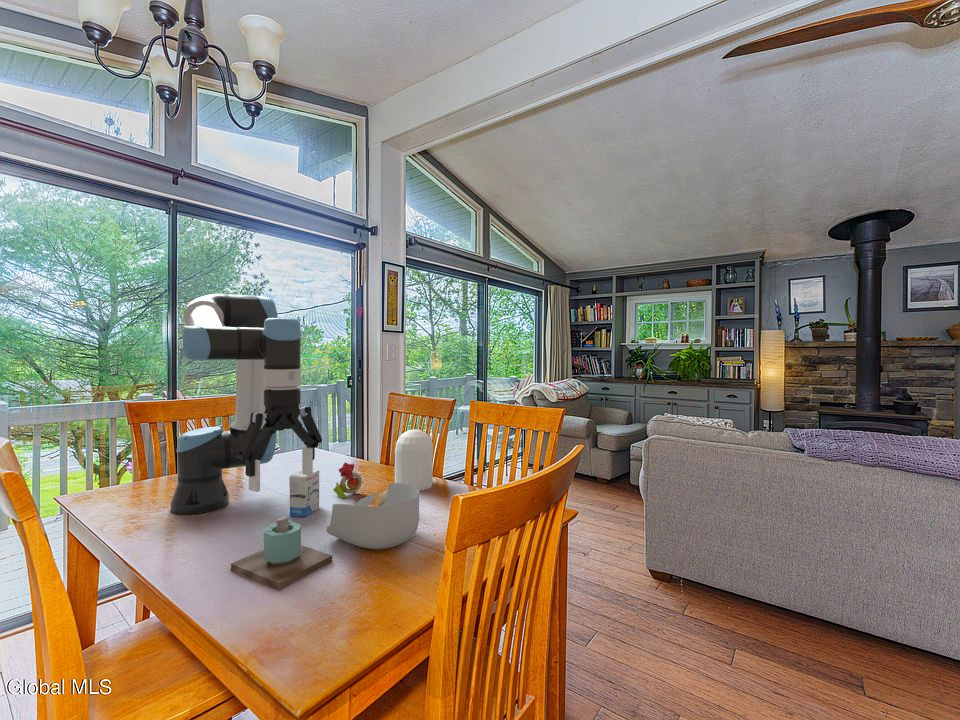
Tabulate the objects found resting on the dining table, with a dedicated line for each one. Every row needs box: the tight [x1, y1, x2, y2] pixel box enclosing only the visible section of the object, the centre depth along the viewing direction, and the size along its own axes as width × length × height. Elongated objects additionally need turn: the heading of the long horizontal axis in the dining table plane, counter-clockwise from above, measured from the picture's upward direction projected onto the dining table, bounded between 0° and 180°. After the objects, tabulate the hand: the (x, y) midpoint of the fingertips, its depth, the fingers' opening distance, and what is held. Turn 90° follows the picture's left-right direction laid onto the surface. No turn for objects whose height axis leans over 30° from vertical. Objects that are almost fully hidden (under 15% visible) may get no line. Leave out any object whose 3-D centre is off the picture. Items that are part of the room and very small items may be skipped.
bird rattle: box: [332, 462, 363, 499], centre depth 149 cm, size 6×11×9 cm
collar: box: [263, 521, 302, 563], centre depth 101 cm, size 7×7×6 cm
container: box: [394, 428, 434, 492], centre depth 160 cm, size 14×13×20 cm
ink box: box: [288, 468, 320, 518], centre depth 134 cm, size 9×5×12 cm, turn 168°
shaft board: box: [230, 517, 333, 591], centre depth 101 cm, size 16×14×10 cm
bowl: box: [325, 482, 420, 550], centre depth 116 cm, size 20×19×12 cm
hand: (282, 482), depth 101 cm, fingers open, 13 cm apart
